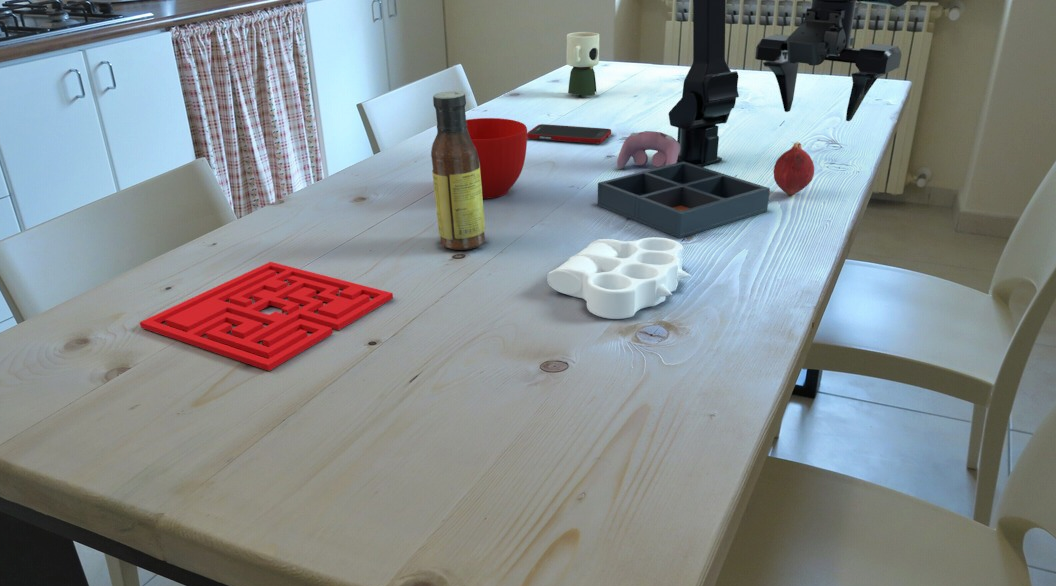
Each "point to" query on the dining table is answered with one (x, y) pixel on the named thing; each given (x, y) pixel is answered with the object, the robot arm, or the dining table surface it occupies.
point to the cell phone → (569, 133)
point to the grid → (682, 198)
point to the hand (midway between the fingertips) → (817, 116)
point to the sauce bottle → (456, 176)
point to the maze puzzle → (282, 329)
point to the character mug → (582, 62)
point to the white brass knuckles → (621, 275)
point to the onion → (793, 170)
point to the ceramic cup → (498, 152)
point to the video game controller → (649, 141)
